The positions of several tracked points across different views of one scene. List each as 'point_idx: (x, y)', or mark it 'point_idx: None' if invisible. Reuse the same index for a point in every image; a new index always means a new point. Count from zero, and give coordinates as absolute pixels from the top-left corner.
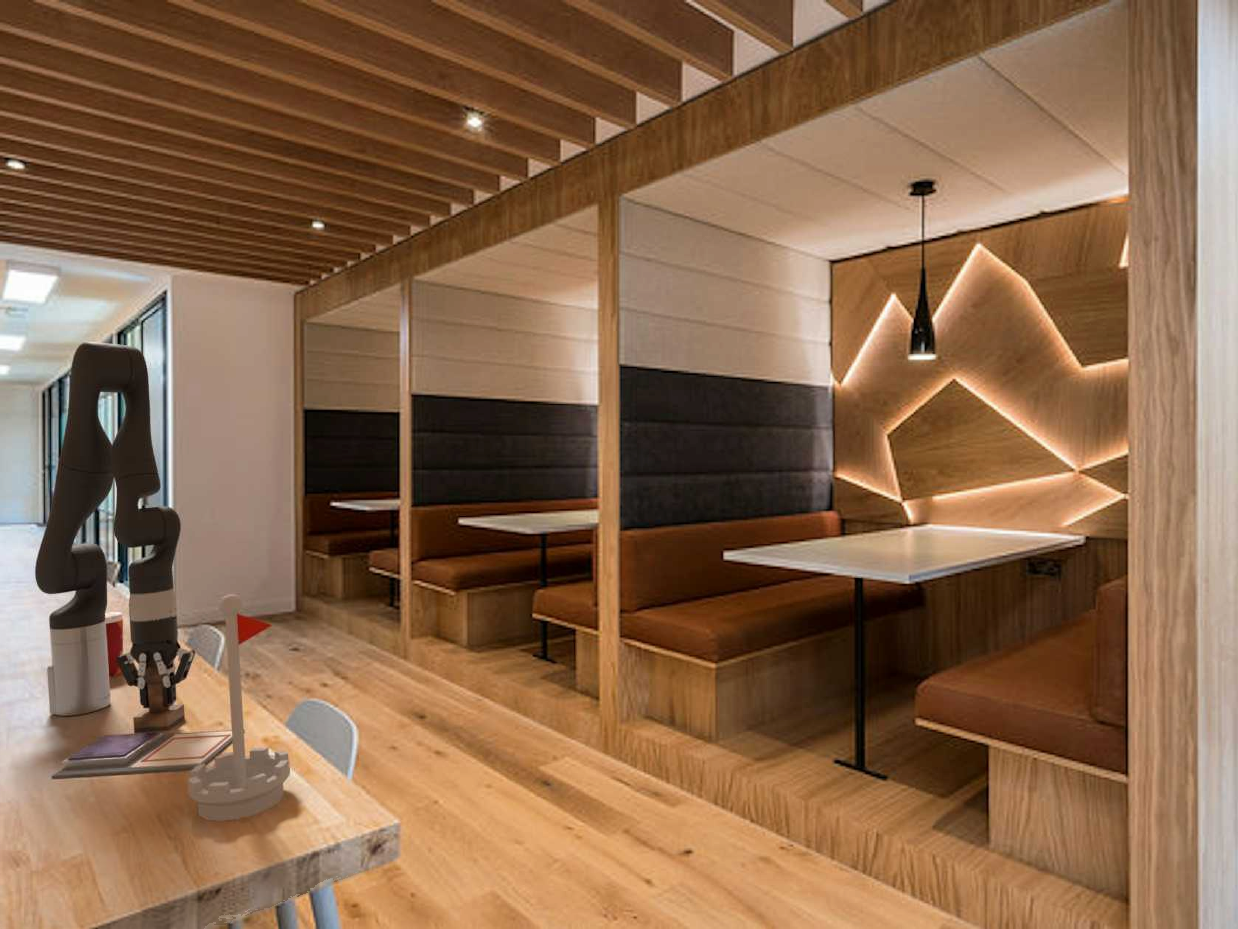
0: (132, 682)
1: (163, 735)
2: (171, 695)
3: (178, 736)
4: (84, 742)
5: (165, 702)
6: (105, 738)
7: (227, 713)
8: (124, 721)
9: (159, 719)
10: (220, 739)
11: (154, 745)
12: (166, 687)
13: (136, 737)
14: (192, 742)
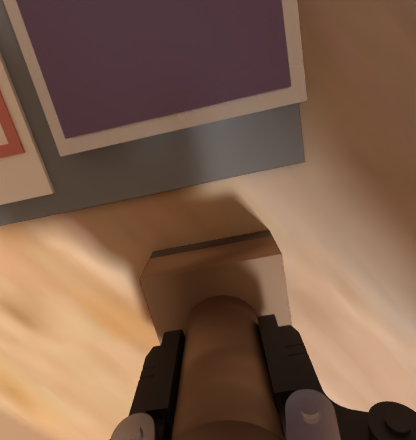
0: (385, 430)
1: (105, 189)
2: (144, 380)
3: (20, 172)
4: (407, 127)
5: (170, 342)
6: (256, 42)
7: (75, 386)
8: (387, 321)
9: (173, 267)
10: None
11: None
12: (143, 414)
13: (106, 68)
14: None
